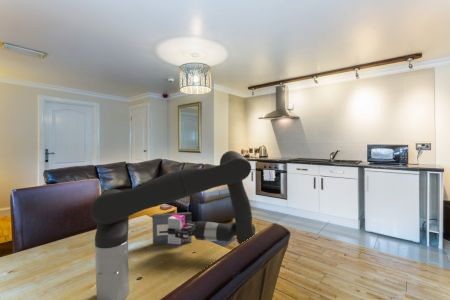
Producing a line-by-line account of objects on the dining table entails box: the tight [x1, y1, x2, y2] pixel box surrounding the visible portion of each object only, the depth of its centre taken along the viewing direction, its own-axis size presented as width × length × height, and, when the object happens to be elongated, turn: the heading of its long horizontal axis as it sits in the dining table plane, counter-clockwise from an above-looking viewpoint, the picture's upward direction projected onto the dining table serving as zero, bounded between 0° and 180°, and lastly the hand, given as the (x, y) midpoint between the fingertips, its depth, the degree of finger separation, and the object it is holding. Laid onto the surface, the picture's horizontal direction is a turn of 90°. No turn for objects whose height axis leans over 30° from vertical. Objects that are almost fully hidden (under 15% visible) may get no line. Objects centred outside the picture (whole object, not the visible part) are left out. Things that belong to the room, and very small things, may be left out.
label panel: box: [151, 211, 193, 246], centre depth 109 cm, size 2×18×14 cm, turn 98°
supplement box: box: [167, 215, 185, 246], centre depth 99 cm, size 6×6×12 cm
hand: (171, 228), depth 100 cm, fingers closed on supplement box, 5 cm apart
